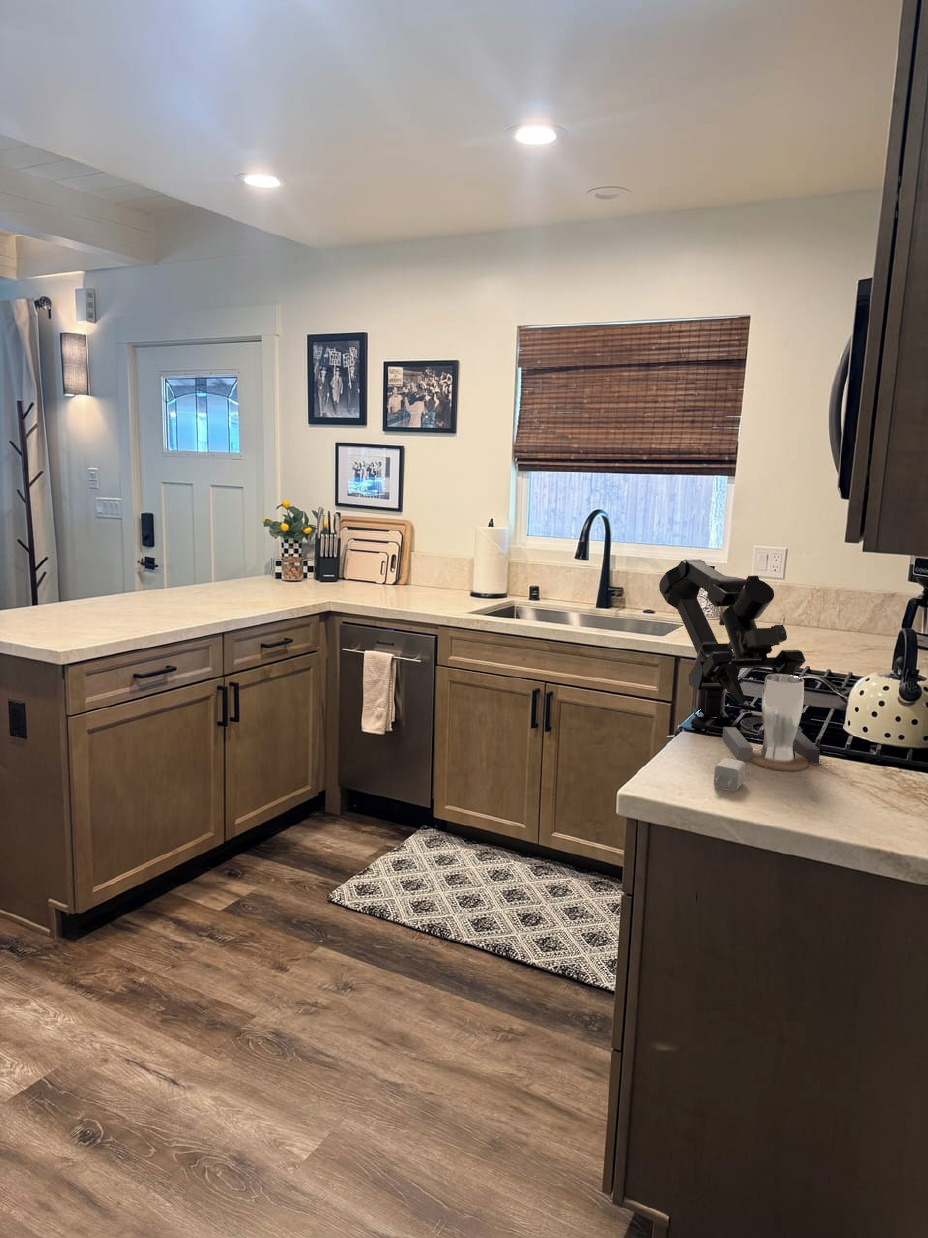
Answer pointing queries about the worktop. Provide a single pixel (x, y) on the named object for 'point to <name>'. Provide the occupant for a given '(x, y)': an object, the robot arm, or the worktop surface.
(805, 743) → the long grey square rod
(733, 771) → the usb wall charger
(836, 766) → the worktop surface
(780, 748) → the silver metal cup
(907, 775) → the worktop surface
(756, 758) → the coaster
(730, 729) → the grey square beam
